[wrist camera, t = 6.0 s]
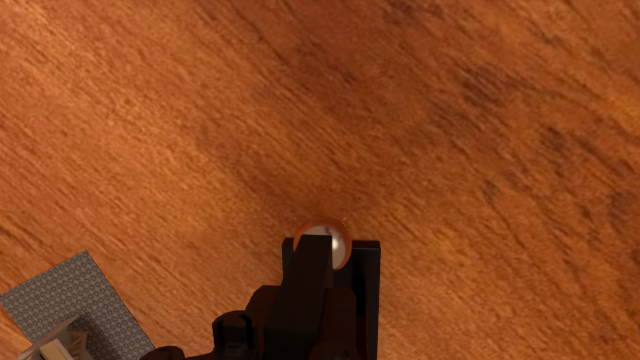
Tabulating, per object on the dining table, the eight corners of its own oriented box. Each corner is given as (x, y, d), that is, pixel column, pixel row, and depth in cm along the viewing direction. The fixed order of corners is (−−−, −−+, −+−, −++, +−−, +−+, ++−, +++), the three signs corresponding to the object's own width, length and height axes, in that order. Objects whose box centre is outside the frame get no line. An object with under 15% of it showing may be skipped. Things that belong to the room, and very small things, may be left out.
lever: (300, 222, 20) (290, 207, 17) (353, 223, 19) (352, 209, 16) (281, 465, 15) (264, 504, 13) (348, 474, 15) (346, 516, 12)
